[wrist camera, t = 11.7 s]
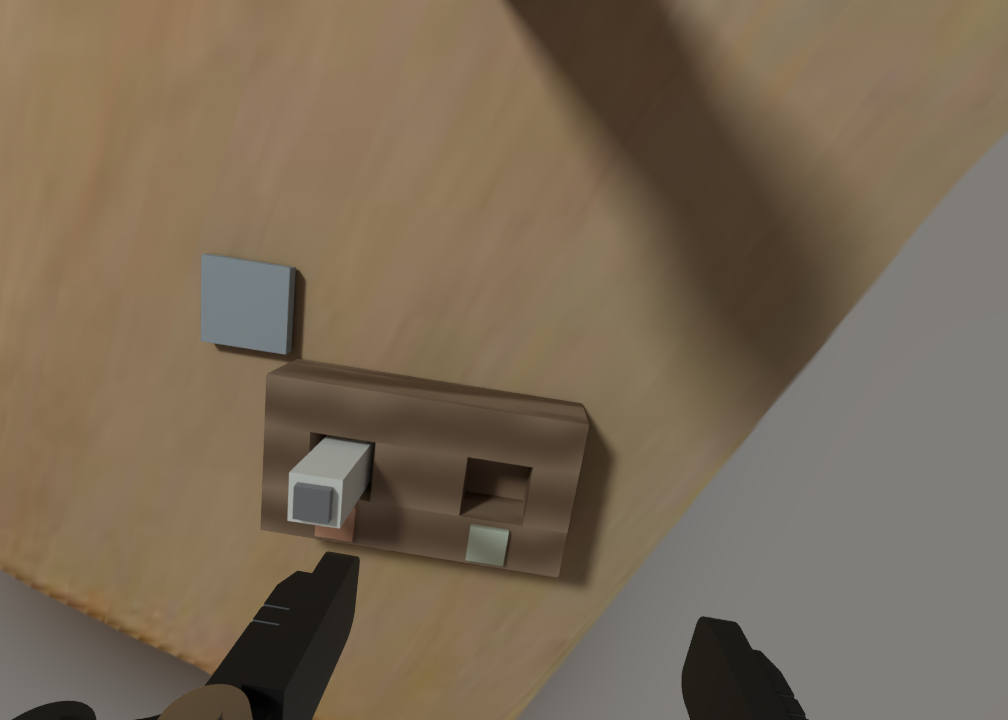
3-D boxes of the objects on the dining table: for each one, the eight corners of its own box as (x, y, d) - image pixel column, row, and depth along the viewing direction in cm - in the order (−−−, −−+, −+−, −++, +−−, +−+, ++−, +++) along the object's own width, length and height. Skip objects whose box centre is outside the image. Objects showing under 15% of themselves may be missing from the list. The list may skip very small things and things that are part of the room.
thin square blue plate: (209, 253, 40) (201, 254, 39) (295, 267, 40) (290, 268, 39) (208, 338, 41) (201, 341, 40) (291, 351, 41) (285, 354, 40)
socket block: (297, 358, 42) (263, 375, 36) (582, 403, 41) (590, 427, 36) (289, 498, 45) (258, 532, 39) (554, 540, 44) (558, 580, 39)
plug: (339, 423, 42) (284, 476, 32) (381, 429, 42) (339, 484, 32) (336, 463, 42) (283, 525, 33) (378, 469, 42) (336, 533, 33)
